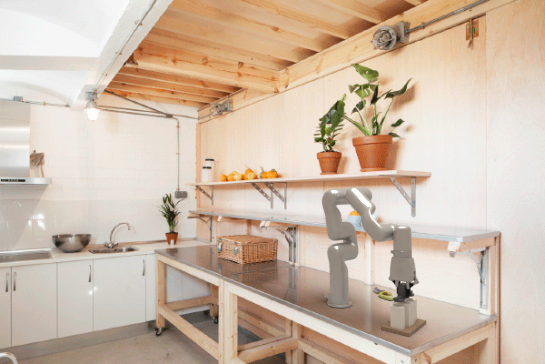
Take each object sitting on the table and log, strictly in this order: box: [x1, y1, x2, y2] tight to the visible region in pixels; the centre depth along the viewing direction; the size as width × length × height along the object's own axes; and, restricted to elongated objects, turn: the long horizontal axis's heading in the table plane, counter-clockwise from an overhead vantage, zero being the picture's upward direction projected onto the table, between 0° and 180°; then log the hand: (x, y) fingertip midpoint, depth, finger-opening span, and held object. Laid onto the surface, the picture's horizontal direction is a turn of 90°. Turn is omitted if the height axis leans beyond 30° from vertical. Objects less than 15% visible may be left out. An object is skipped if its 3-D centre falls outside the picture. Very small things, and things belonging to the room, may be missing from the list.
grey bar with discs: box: [392, 281, 415, 302], centre depth 160 cm, size 5×16×6 cm, turn 138°
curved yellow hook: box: [372, 286, 394, 301], centre depth 209 cm, size 8×3×25 cm
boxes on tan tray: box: [380, 297, 427, 338], centre depth 159 cm, size 12×19×10 cm, turn 138°
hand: (403, 296), depth 160 cm, fingers closed on grey bar with discs, 3 cm apart
